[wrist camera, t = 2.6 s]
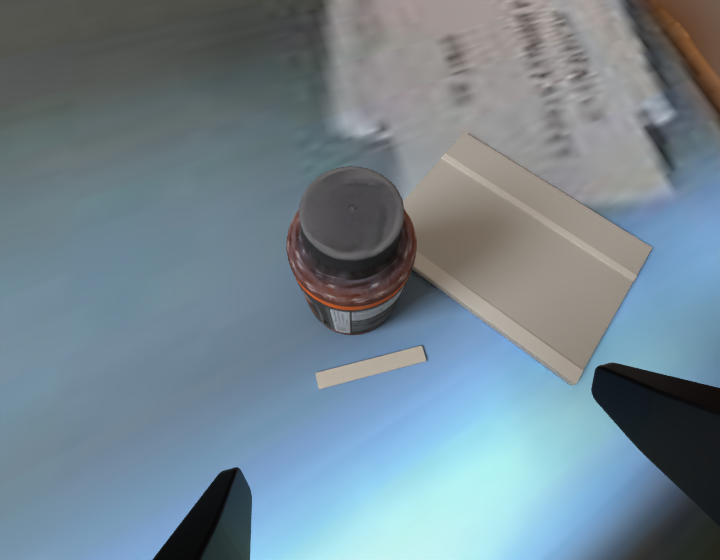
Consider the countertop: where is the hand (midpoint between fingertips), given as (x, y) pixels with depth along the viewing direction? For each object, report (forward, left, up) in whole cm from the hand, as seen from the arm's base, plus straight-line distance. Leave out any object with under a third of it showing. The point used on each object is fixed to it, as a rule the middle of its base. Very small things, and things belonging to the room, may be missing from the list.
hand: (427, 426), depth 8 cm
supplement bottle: (+6, -5, -14) cm, 16 cm away
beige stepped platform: (0, -15, -13) cm, 20 cm away
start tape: (+2, -2, -13) cm, 14 cm away
